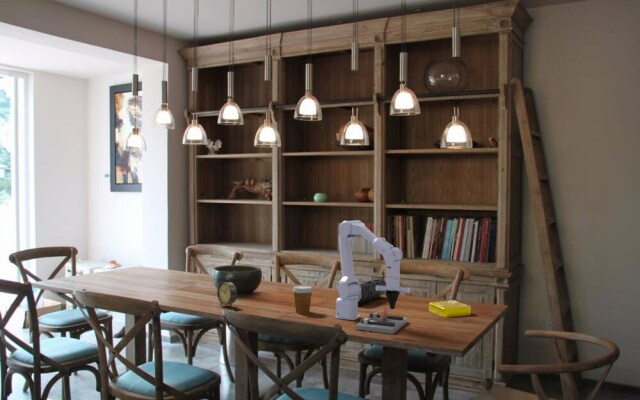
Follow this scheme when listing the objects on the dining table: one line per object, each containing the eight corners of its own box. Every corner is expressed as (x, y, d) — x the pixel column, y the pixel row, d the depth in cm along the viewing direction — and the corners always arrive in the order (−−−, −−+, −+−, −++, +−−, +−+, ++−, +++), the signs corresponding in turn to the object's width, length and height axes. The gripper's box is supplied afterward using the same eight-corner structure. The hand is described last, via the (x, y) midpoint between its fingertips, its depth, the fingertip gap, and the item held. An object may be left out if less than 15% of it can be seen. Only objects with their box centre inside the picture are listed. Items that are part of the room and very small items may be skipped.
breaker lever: (378, 320, 244) (385, 307, 243) (382, 317, 249) (388, 305, 248) (380, 322, 244) (387, 308, 243) (384, 319, 249) (391, 306, 247)
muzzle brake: (387, 298, 307) (387, 278, 307) (361, 307, 284) (362, 286, 283) (371, 296, 312) (371, 276, 312) (345, 305, 289) (345, 284, 288)
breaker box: (355, 329, 240) (355, 320, 240) (372, 318, 260) (372, 309, 260) (392, 334, 233) (392, 324, 233) (407, 322, 253) (407, 313, 253)
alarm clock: (216, 305, 286) (216, 272, 285) (225, 303, 290) (225, 271, 289) (230, 308, 278) (230, 275, 278) (239, 307, 282) (239, 274, 282)
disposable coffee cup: (289, 311, 274) (289, 285, 274) (308, 309, 278) (308, 284, 278) (296, 315, 266) (296, 289, 265) (315, 313, 269) (316, 287, 269)
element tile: (427, 311, 277) (427, 301, 277) (453, 308, 282) (454, 299, 282) (444, 318, 263) (444, 307, 263) (472, 315, 268) (472, 305, 268)
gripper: (373, 276, 243) (373, 308, 244) (407, 279, 237) (406, 312, 238) (378, 274, 250) (378, 305, 250) (411, 276, 244) (411, 308, 244)
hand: (392, 308), depth 244 cm, fingers closed
